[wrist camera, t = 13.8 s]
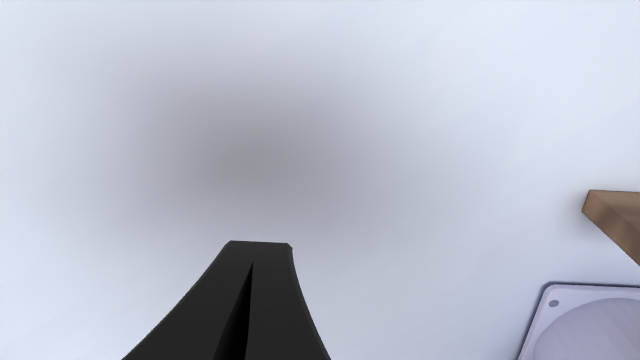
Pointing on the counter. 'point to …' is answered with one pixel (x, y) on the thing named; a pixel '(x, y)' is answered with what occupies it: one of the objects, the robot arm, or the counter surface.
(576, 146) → the counter surface
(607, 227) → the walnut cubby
